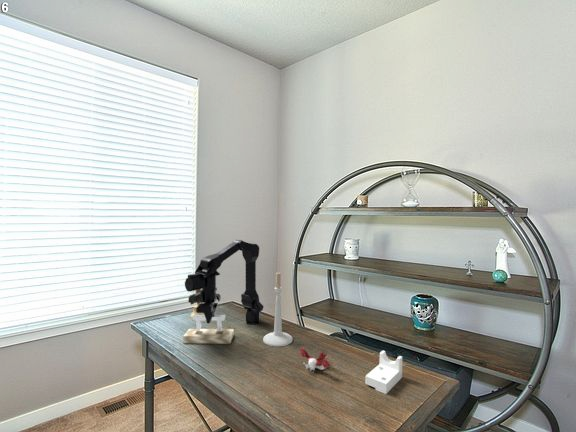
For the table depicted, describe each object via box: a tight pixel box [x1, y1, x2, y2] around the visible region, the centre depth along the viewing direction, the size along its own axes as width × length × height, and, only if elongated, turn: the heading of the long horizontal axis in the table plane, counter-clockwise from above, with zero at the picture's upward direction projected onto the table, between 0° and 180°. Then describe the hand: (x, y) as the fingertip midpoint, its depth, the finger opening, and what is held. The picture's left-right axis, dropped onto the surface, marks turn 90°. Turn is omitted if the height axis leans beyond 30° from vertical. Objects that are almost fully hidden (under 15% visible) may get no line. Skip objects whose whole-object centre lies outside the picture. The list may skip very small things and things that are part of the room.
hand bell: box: [189, 289, 204, 319], centre depth 169 cm, size 8×8×16 cm
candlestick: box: [262, 272, 294, 348], centre depth 140 cm, size 13×13×30 cm
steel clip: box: [191, 314, 227, 331], centre depth 140 cm, size 14×2×6 cm, turn 90°
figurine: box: [299, 345, 334, 374], centre depth 116 cm, size 15×12×7 cm
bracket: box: [364, 350, 403, 395], centre depth 108 cm, size 13×7×8 cm, turn 139°
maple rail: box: [182, 328, 235, 345], centre depth 140 cm, size 20×8×3 cm, turn 90°
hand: (209, 322), depth 140 cm, fingers closed on steel clip, 2 cm apart
